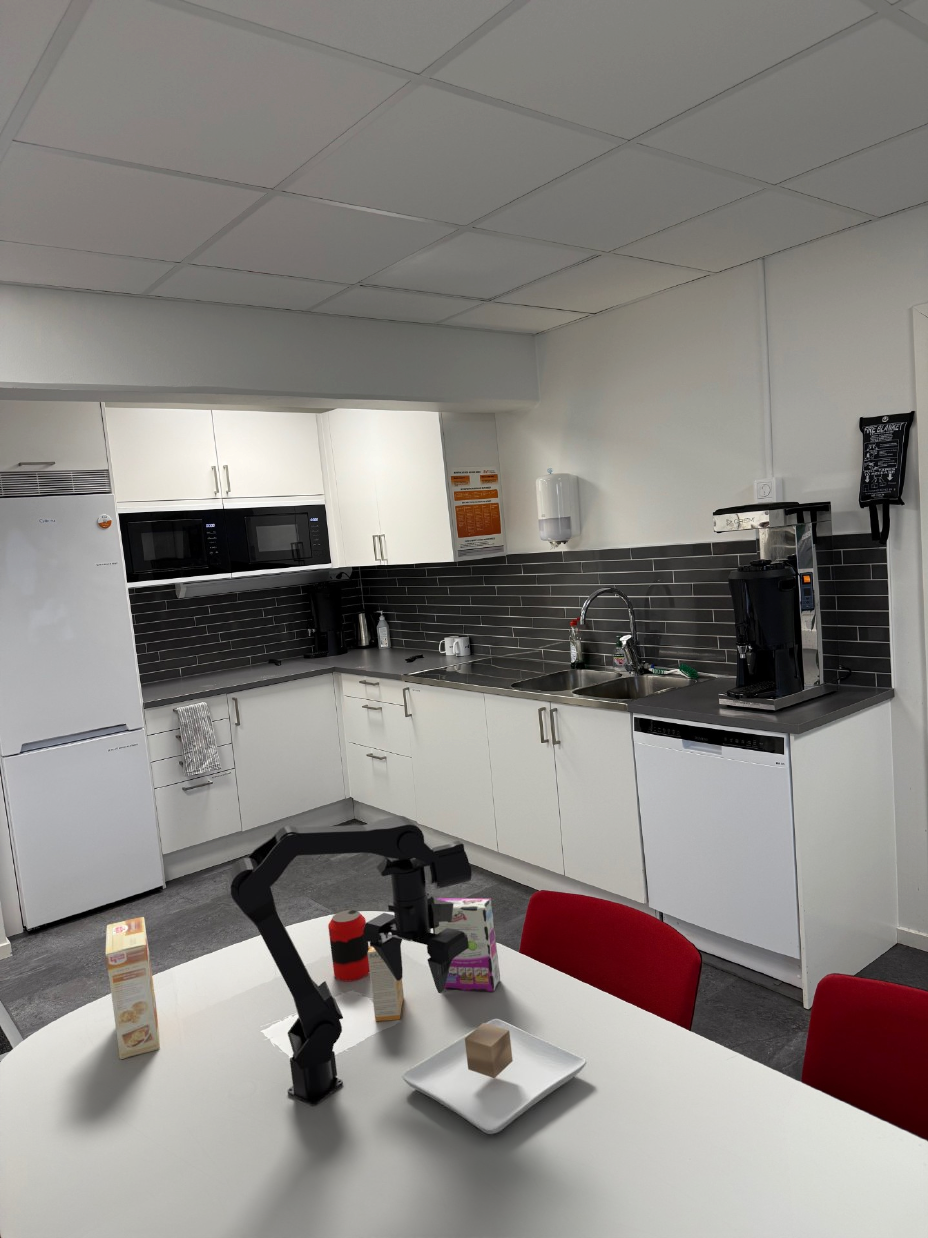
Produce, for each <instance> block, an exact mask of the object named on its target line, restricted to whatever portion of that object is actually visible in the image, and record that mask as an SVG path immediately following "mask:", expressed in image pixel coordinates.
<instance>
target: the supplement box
mask: <svg viewBox="0 0 928 1238" xmlns="http://www.w3.org/2000/svg"><path fill="white" fill-rule="evenodd" d="M368 961H369V970H370V972H369V977H370V984H371V994H372V1003H373V1012H374V1021H375V1022H382V1021H393V1020H400V1019H401V1014H402V1006H403V1001H404V986H403V985H404V984H403V978H402V979H401V980H399V981H397V980H396V979H395V977H394V976H393V974H392V973H391V971H390V970H389V968H388V967H387V965H386V964H385V962H384V961H383V959H382V958H381V957H380V955H379V954H378V953H377V951H376V950H375V949H374V948H373V947H371V946H370V945H369V950H368Z"/></svg>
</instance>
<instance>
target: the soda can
mask: <svg viewBox="0 0 928 1238" xmlns="http://www.w3.org/2000/svg"><path fill="white" fill-rule="evenodd" d="M366 923H367V922H366V917H365V916H364V915H363V914H362V913H360V912H359V911H358V910H354V909H350V910H349V909H348V910H347V909H346V910H343V911H339V912H337V913H335V914H333V916H332V918H331V919H330V921H329V923H328V925H327V927H328V935H329V943H330V951H331V961H332V968H333V976H334V977H335V978H336V979H337V980H339V981H341V982H354V981H357V980H361V979H363V978H366V977H367V976H368V975H369V974H370V970H369V961H368V950H369V946H370V944H369V942H368V941H364V933H363V929H364V927H365V924H366Z"/></svg>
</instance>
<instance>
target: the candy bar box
mask: <svg viewBox="0 0 928 1238" xmlns="http://www.w3.org/2000/svg"><path fill="white" fill-rule="evenodd" d="M437 900H442V901H447V902H451V903H454V905H453V914H452V922H450V923H448V922H439V926H438V927H437V928H435V929H434V928H432V933H434V934H438V933H440V932H441V931H443V930H444V929H446V928H450V929H454V930H458V931H463V932H464V933H465V934H467V937H468V945H469V948H468V949H466V950H465V951H463V952H462V953H460V954H459V955H458V956H456V957H455V958H453V960H452V963H451V965H450V968H449V972H448V977H447V981H446V985H445V989H444V991H446V990H447V991H448V990H449V991H450V990H451V991H469V992H470V991H472V992H475V991H476V992H495V991H496V989H497V987H498V985H499V983H500V981H501V974H500V965H499V957H498V948H497V940H496V932H495V922H494V921H495V920H494V912H493V906H492V905H493V904H492V898H476V897H475V898H473V897H472V898H469V897H468V898H467V897H466V898H462V897H461V898H460V897H459V898H458V897H457V898H456V897H455V898H454V897H453V898H451V897H450V898H449V897H448V898H447V897H442V898H441V897H438V898H437Z"/></svg>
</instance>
